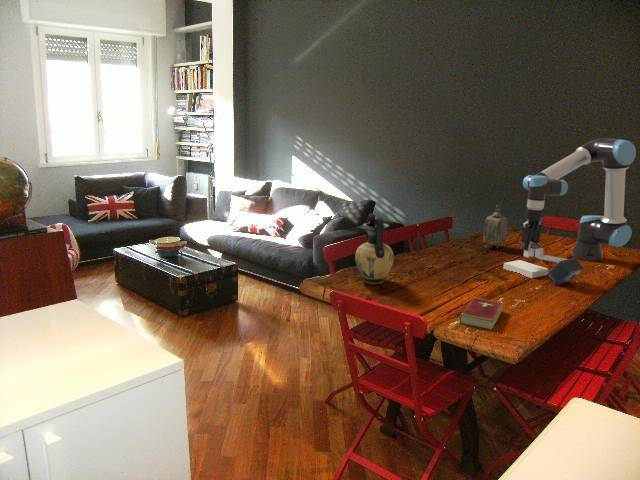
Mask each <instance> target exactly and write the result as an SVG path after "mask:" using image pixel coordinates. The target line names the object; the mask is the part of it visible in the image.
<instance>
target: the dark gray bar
mask: <svg viewBox="0 0 640 480" xmlns="http://www.w3.org/2000/svg"><path fill="white" fill-rule="evenodd" d="M530 244H531V247H530V248H533V249H534V257H535V258H536V259H538V260H542V261H543V260H544V261H549V262H553V263H557V264H558V263H559V262H560V261H563V260H570V259H568V258H563V257H559V256H553V255H547V254H544V247H541V244H540V243H537V244H536V243H530ZM518 246H519V247H523V248H524V246H525V243H523V242H522V241H519V245H518Z"/></svg>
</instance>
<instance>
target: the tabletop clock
mask: <svg viewBox="0 0 640 480" xmlns="http://www.w3.org/2000/svg"><path fill="white" fill-rule="evenodd" d="M500 209H501V205H500V203H498V204H496V206H495V212H493V213H492V214H491V215H488V216H487V217H486V218H485V220H484V225H483V226H484V227H483V233H482V234H483V235H482V241H483V242H487V244H486V245H484V248H485V249H487V248H488V246H489V244H490V245H492V246H494V244H496V245H495V248H496V249H499V248H500V247H499V244H500V243H502V242H504V241H505V240H506V239H507V234H508V225H509V219H508V218H506V217H504V216H503V215H502V213H501V212H500Z"/></svg>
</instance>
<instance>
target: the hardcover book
mask: <svg viewBox="0 0 640 480" xmlns="http://www.w3.org/2000/svg"><path fill="white" fill-rule="evenodd" d="M504 304H505V303H504V302H501V301H497V300H496V301H495V300H490V299H486V298H480V297H475V296H474V297H472V299H471V300H470V301H469V303H468V304H467V305H466V307H465V308H464V310H463V311H462V312H461V314H460V315H459V323H460V324H464V325H465V324H466V325H469V326H475V327H480V328H484V329H488V330H493V328H494V326H495V324H496V322H497V321H498V319H499V317H500V315H501V313H502V312H503V306H504Z"/></svg>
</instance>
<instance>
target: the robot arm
mask: <svg viewBox="0 0 640 480" xmlns="http://www.w3.org/2000/svg"><path fill="white" fill-rule="evenodd" d="M636 151H637V149H636V147H635V145H634V144H633V142H631V141H630V140H626V139H620V138H619V139H618V138H605V137H603V138H597V139H596V138H595V139H593V140H590V141H588V142H586V143H584V144H582V145H580V146H579V147H577V148H576V149H575V151H574V152H572V153H571V154H569V155H568V156H565V157H564V158H562V159H561V160H559V161H557V162H555V163H553V164H552V165H550V166H549V167H547V168H545V169H544V170H542V171H540V172H538V173H537V174H529V175H527V176H524V178H523V181H522V187H523V188H524V189H525V190H527V191H528V193H527V203H526V207H527V208H526V209H525V216H526V220H525V222H522V223H521V227H522V229H521V230H522V232H521V242H523V243H525V246H524V247H523V257H524V258H530V257H532V258H533V257H535V249H533V248H530V247H531V244H530V243H535V244H539V241H540V238H541V233H542V229H543V228H542V227H543V226H544V221H543V220H542V221H541V218H543V214H544V209H545V200H546V197H549V196H550V197H551V196H552V197H553V196H554V197H555V196H557V197H559V196H564V195H565V194H566V193H567V192H568V189H569V184H568V182H567V181H566V180H564V179H561V178H562V177H565V176H566V175H568V174H569V173H571V172H573V171H575V170H577V169H578V168H579V167H581V166H583V165H589V164H590V163H593V162H601V163H602V169H604V171H605V183H604V184H605V187H604V188H605V189H604V213H603V215H594V214H593V215H591V214H590V215H588V214H587V215H583V216H581V217H580V221H579V224H578V225H579V226H578V233H577V240H576V243H575V245H574V247H573V248H572V250H571V253H570V254H571V257H573V258H574V259H577V260H578V259H579V260H581V261H582V260H583V261H589V262H599V261H602V260H603V257H604V256H603V251H602V243H603V244H605V245H608V246H611V247H618V248H620V247H623V246H625V245H626V244H627V243H628V241H630V239H631V237H632V233H633V232H632V231H633V230H632V228H631V227H630V226H629V225H627V223H628V220H627V218H626V217H625V216H624V213H625V212H624V211H625V209H624V208H625V191H626V190H625V189H626V171H627V170H628V169H629V168H630V165H631V164H632V163H633V162H634V160H635V159H636V155H637V152H636Z"/></svg>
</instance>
